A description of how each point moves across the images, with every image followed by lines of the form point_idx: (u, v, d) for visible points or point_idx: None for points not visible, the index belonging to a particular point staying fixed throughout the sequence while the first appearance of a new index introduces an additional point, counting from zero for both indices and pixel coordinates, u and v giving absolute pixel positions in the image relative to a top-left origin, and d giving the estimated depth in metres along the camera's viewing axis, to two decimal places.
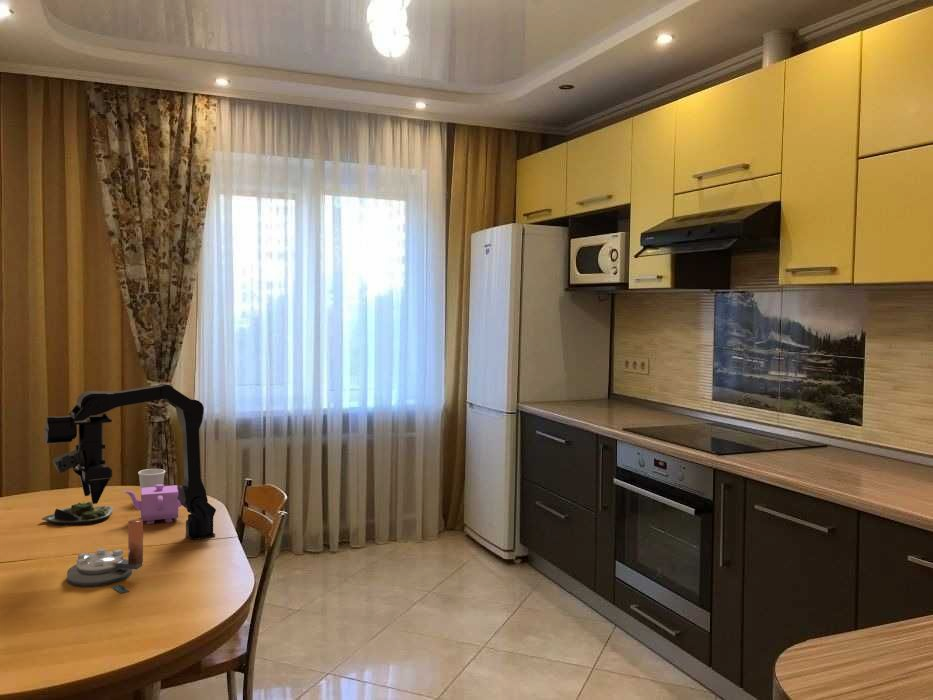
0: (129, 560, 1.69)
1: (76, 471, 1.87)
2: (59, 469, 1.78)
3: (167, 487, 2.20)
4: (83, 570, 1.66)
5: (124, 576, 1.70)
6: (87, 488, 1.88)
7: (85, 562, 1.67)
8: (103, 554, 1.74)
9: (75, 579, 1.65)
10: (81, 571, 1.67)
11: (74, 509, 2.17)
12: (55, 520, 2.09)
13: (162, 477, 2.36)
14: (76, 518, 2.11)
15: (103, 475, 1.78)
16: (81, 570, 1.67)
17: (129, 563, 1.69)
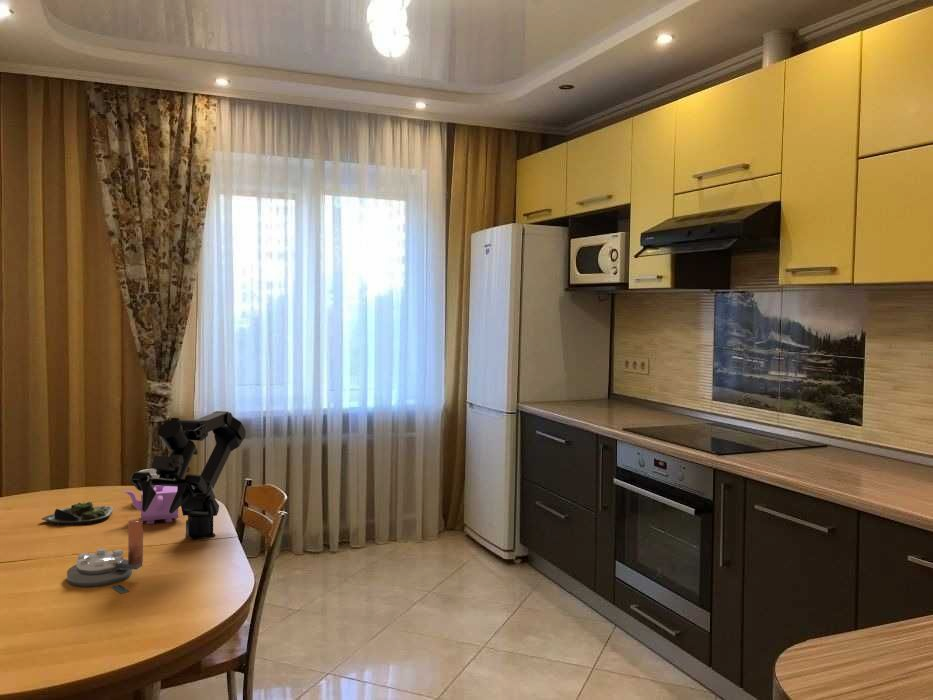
0: (129, 560, 1.69)
1: (148, 483, 1.82)
2: (167, 465, 1.80)
3: (167, 487, 2.20)
4: (83, 570, 1.66)
5: (124, 576, 1.70)
6: (147, 504, 1.81)
7: (85, 562, 1.67)
8: (103, 554, 1.74)
9: (75, 579, 1.65)
10: (81, 571, 1.67)
11: (74, 509, 2.17)
12: (55, 520, 2.09)
13: None
14: (76, 518, 2.11)
15: (204, 487, 1.84)
16: (81, 570, 1.67)
17: (129, 563, 1.69)
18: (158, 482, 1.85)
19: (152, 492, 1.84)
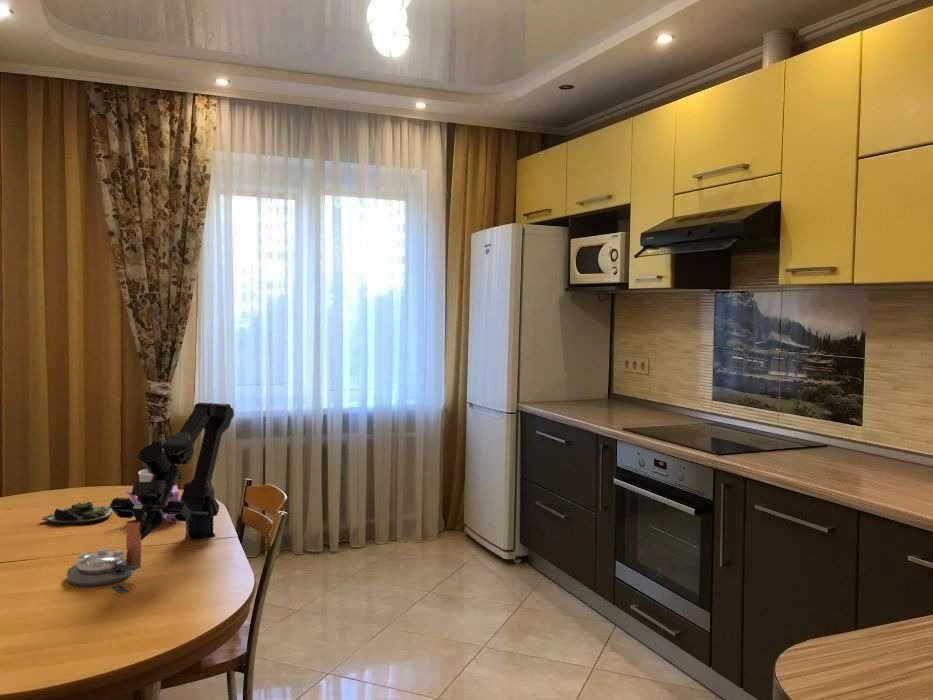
0: (127, 561, 1.68)
1: (141, 510, 1.74)
2: (148, 491, 1.72)
3: None
4: (81, 569, 1.67)
5: (124, 576, 1.70)
6: None
7: (84, 562, 1.68)
8: (104, 554, 1.74)
9: (75, 579, 1.65)
10: (80, 571, 1.67)
11: (74, 509, 2.17)
12: (55, 520, 2.09)
13: None
14: (76, 518, 2.11)
15: (187, 514, 1.76)
16: (80, 570, 1.67)
17: (127, 564, 1.68)
18: None
19: None
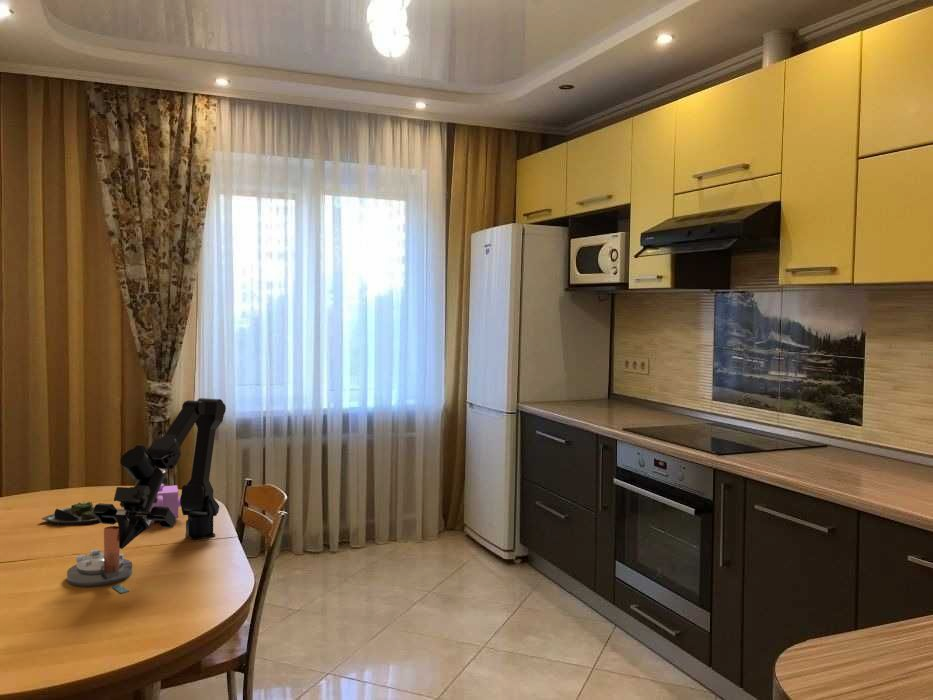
0: None
1: (124, 517, 1.69)
2: (131, 497, 1.67)
3: (167, 487, 2.20)
4: None
5: (124, 576, 1.70)
6: None
7: (81, 559, 1.69)
8: None
9: (75, 579, 1.65)
10: None
11: (74, 509, 2.17)
12: (55, 520, 2.09)
13: None
14: (76, 518, 2.11)
15: (172, 520, 1.72)
16: None
17: None
18: None
19: None
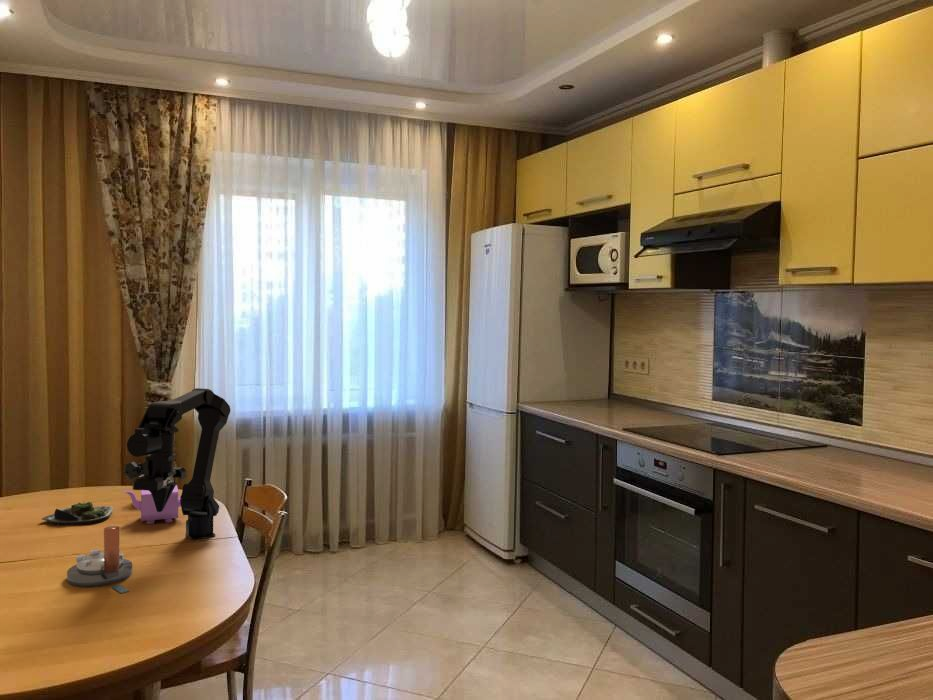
0: None
1: None
2: (128, 476, 1.81)
3: None
4: None
5: (124, 576, 1.70)
6: None
7: (81, 559, 1.69)
8: None
9: (75, 579, 1.65)
10: None
11: (74, 509, 2.17)
12: (55, 520, 2.09)
13: None
14: (76, 518, 2.11)
15: (148, 487, 1.74)
16: None
17: None
18: None
19: None
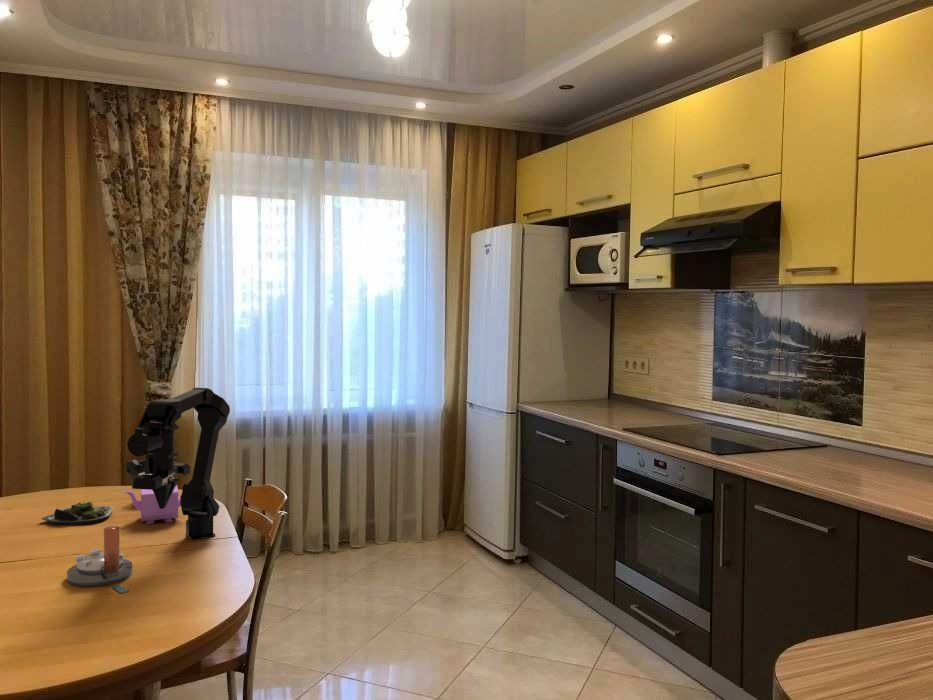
0: None
1: None
2: (130, 473, 1.83)
3: None
4: None
5: (124, 576, 1.70)
6: None
7: (81, 559, 1.69)
8: None
9: (75, 579, 1.65)
10: None
11: (74, 509, 2.17)
12: (55, 520, 2.09)
13: None
14: (76, 518, 2.11)
15: (146, 486, 1.75)
16: None
17: None
18: None
19: None
